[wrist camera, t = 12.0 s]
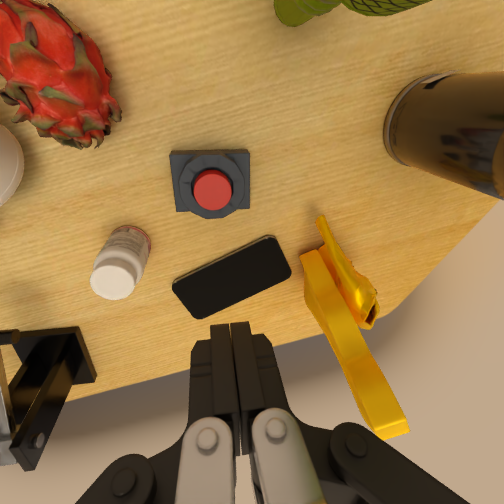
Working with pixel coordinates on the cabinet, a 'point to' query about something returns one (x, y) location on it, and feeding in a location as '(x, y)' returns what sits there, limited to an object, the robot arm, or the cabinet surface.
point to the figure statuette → (350, 330)
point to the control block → (198, 161)
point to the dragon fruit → (54, 75)
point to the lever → (6, 404)
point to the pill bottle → (120, 263)
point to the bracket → (44, 386)
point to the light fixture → (9, 164)
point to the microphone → (318, 3)
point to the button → (212, 190)
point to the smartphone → (232, 278)
